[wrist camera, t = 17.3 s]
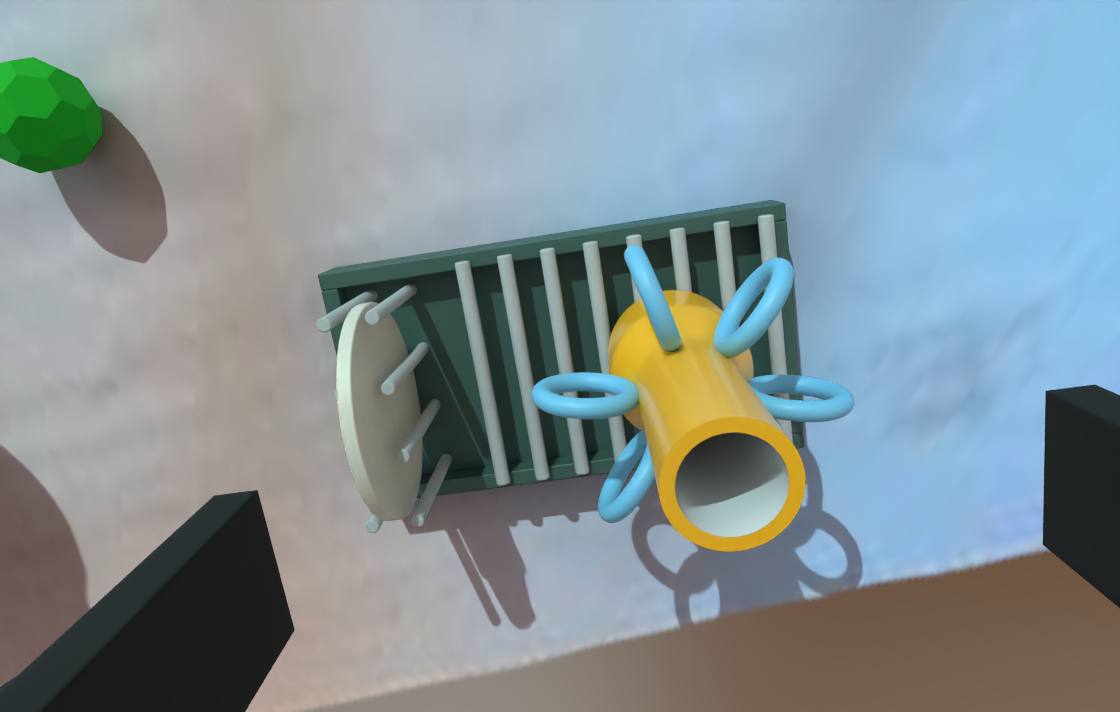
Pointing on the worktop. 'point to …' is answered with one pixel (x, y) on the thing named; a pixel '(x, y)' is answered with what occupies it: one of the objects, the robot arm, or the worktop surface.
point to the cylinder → (701, 410)
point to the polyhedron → (45, 116)
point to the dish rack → (518, 349)
